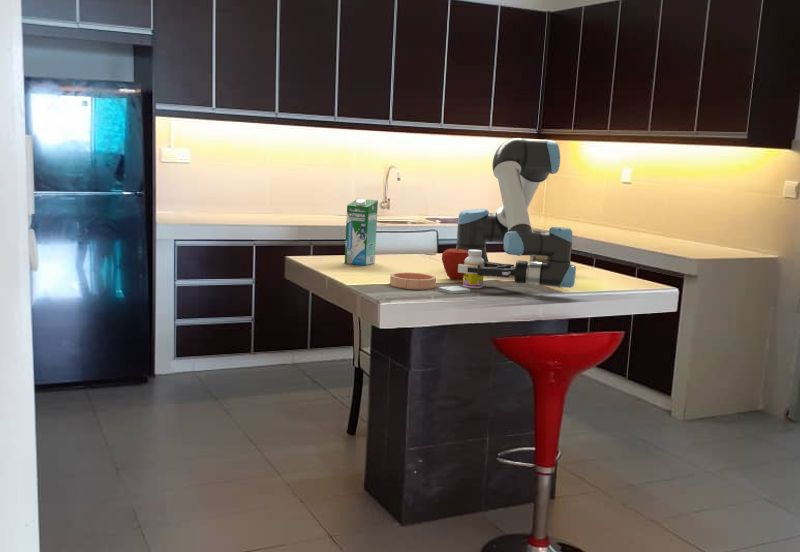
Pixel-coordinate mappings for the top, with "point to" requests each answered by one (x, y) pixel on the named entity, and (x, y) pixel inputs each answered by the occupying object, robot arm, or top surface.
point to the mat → (451, 294)
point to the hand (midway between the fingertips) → (461, 266)
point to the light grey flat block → (454, 289)
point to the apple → (454, 262)
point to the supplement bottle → (473, 279)
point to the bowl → (413, 280)
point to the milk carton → (361, 232)
